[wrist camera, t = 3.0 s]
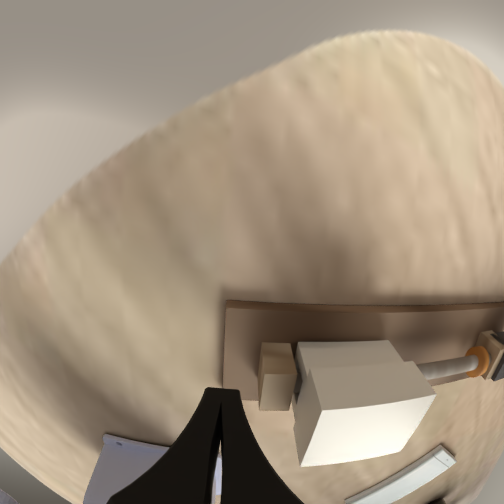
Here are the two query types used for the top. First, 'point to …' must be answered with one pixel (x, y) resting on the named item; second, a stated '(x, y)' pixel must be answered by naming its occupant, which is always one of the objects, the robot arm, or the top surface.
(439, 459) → the hard drive
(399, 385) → the white rounded cube
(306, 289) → the top surface
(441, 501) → the supplement bottle
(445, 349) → the cord rail
